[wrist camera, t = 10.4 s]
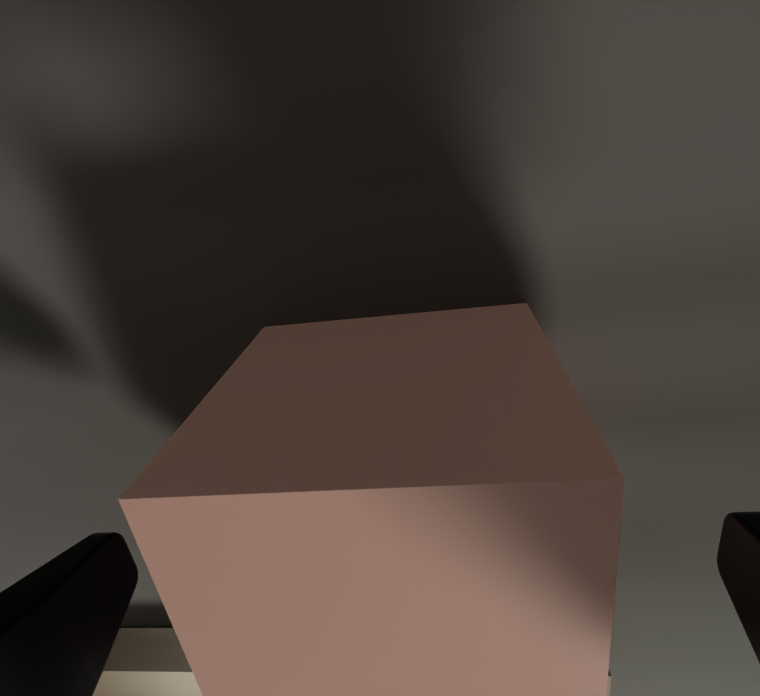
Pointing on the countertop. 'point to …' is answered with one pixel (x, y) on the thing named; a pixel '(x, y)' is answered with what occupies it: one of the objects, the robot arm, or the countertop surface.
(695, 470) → the countertop surface
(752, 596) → the robot arm
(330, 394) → the terracotta block
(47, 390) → the countertop surface
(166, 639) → the blueprint board
